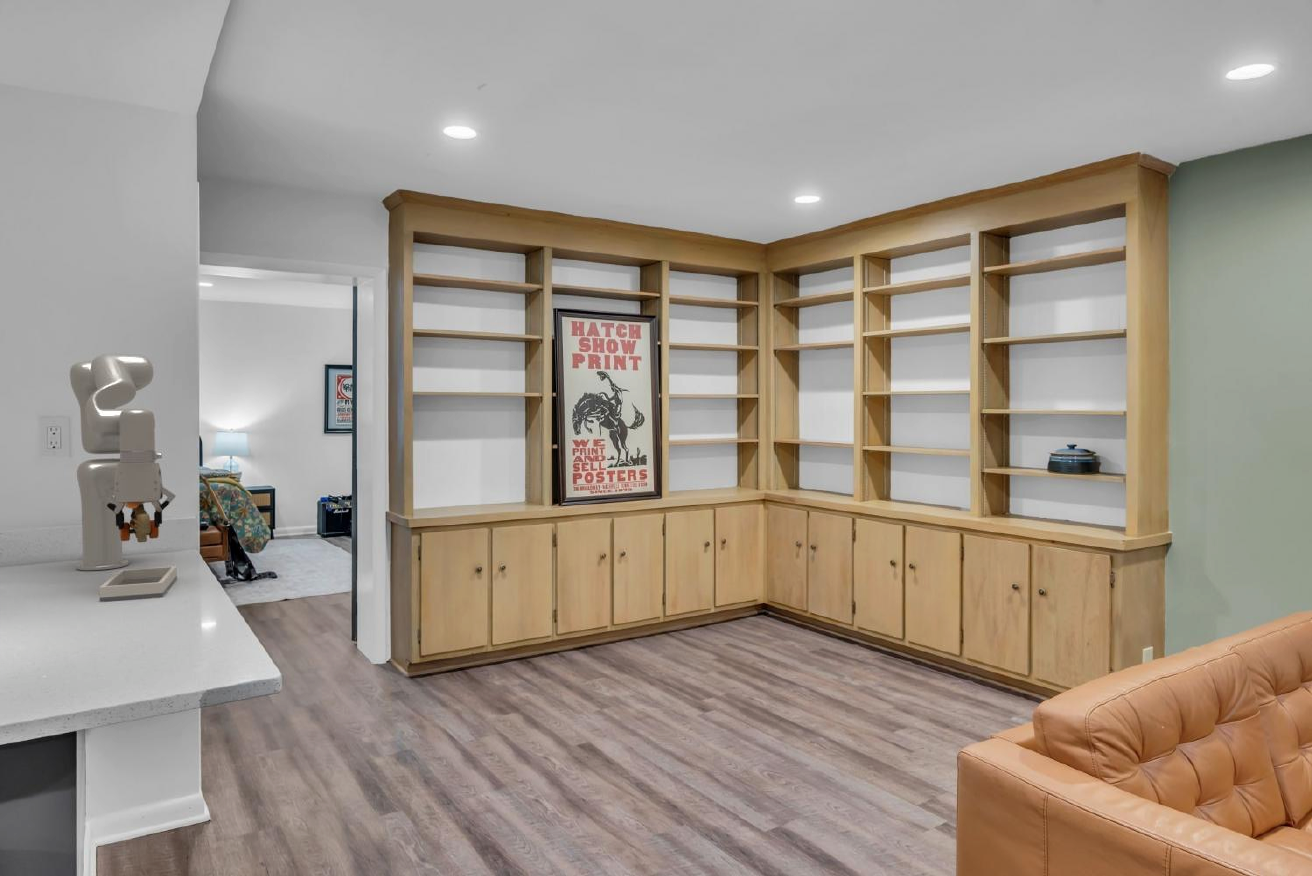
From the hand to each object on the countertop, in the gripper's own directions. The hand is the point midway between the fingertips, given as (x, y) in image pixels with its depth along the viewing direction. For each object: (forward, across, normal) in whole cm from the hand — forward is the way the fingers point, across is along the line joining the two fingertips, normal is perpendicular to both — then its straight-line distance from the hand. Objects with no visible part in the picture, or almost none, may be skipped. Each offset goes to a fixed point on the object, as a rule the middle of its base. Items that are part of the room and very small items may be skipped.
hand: (139, 527), depth 206 cm
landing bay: (+16, 0, 0) cm, 16 cm away
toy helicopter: (+4, 0, 0) cm, 4 cm away
